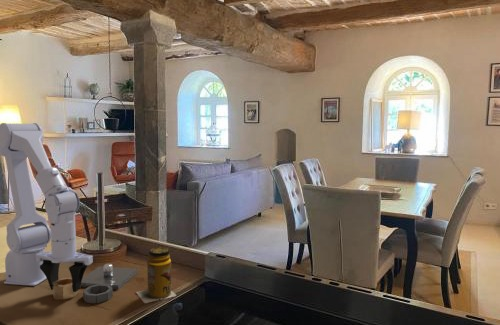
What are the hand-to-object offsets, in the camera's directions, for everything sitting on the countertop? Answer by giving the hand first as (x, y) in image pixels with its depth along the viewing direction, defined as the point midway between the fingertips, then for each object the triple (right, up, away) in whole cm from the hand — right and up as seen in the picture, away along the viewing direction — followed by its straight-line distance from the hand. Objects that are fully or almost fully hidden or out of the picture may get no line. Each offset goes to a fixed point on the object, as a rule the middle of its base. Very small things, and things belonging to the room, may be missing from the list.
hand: (65, 289), depth 102 cm
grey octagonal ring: (+9, -2, -1) cm, 9 cm away
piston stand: (+7, 0, +10) cm, 13 cm away
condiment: (+23, -2, +1) cm, 23 cm away
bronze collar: (0, -1, 0) cm, 1 cm away
